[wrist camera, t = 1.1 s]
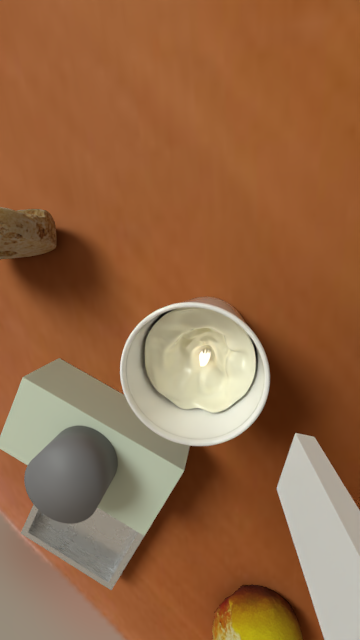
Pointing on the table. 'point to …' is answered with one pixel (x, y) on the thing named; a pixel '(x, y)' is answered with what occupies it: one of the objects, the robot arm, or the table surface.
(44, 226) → the stone disc
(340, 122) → the table surface
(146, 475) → the push-button box
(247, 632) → the fruit
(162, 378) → the candle holder
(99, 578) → the gray square tray
